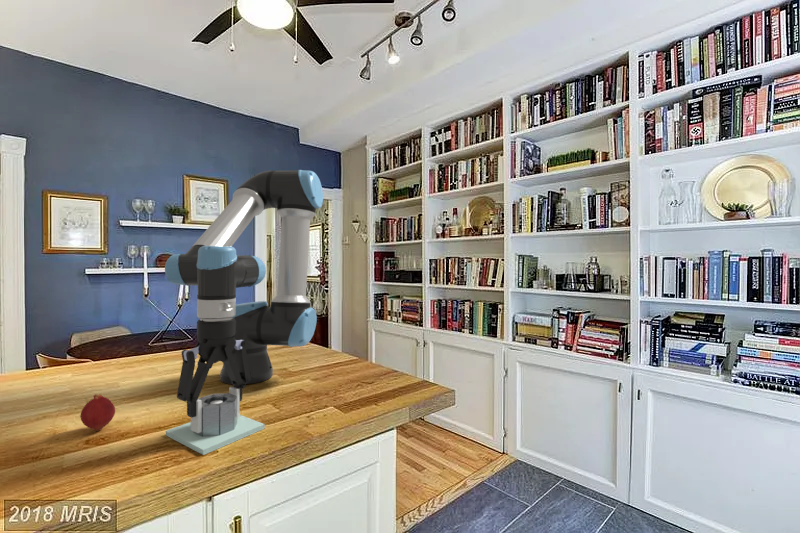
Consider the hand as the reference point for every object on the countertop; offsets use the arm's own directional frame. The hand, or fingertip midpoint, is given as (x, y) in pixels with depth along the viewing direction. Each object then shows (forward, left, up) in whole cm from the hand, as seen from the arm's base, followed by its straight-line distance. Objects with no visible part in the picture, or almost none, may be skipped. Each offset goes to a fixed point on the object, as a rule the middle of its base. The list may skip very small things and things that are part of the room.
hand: (215, 423), depth 85 cm
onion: (-21, -14, -2) cm, 25 cm away
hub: (0, 0, -1) cm, 1 cm away
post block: (0, 0, -2) cm, 2 cm away
